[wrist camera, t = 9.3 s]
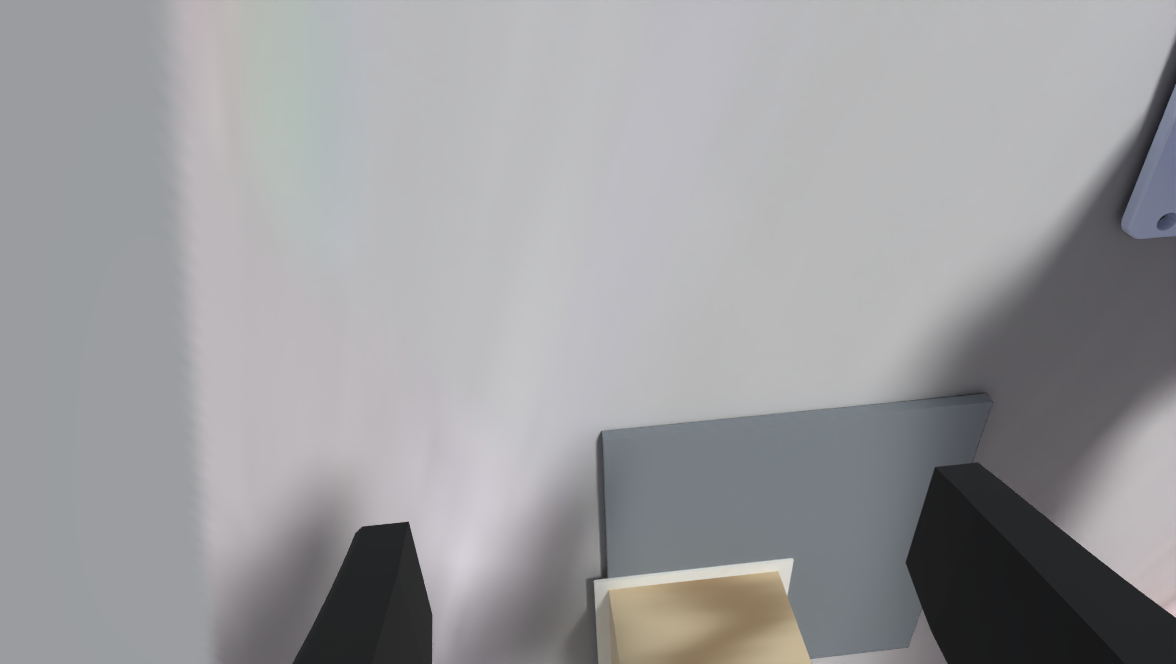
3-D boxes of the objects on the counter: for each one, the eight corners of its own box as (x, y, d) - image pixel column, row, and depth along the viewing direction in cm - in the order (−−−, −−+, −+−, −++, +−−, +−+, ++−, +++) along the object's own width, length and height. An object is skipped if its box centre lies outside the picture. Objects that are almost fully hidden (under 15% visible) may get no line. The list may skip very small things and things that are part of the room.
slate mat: (986, 393, 25) (994, 403, 24) (901, 645, 32) (906, 656, 32) (585, 432, 24) (586, 444, 23) (598, 681, 32) (599, 693, 31)
